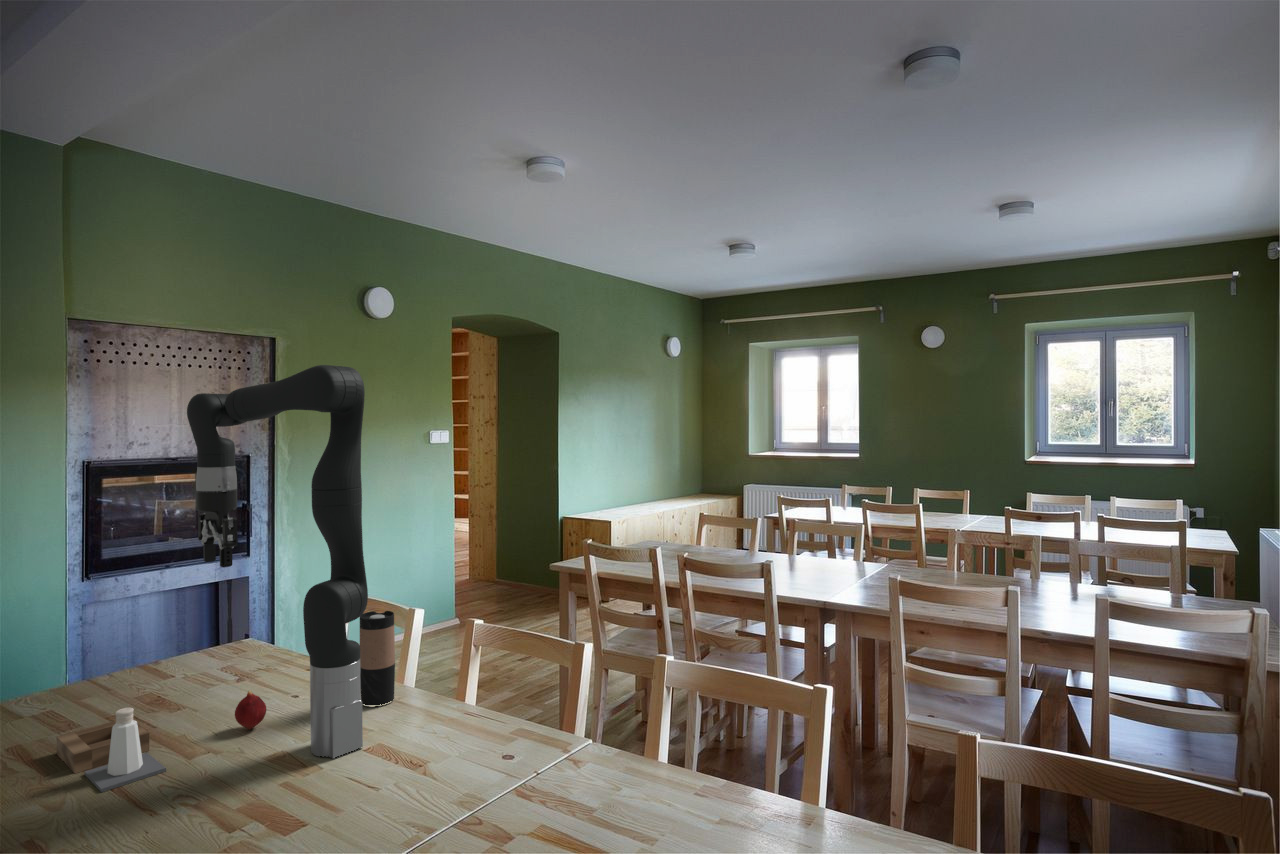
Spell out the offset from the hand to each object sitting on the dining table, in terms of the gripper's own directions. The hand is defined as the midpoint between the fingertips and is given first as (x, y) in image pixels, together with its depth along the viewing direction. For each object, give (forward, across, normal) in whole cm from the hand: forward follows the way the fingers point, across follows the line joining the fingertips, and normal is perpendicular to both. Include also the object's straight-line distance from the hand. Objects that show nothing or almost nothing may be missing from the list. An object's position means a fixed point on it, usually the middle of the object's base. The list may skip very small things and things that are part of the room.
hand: (217, 564), depth 158 cm
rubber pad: (+34, +10, -20) cm, 41 cm away
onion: (+34, +8, +3) cm, 35 cm away
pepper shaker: (+34, +10, -20) cm, 40 cm away
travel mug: (+34, +15, +28) cm, 47 cm away
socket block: (+34, -3, -20) cm, 40 cm away
